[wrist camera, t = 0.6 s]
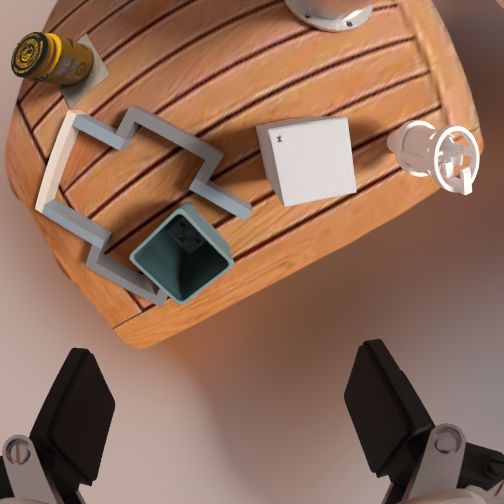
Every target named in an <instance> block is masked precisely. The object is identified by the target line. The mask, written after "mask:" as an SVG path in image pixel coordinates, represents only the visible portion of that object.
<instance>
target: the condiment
mask: <svg viewBox="0 0 504 504" xmlns="http://www.w3.org/2000/svg"><path fill="white" fill-rule="evenodd" d="M11 67H12V70H13V72H14V74H15V75H17V76H19V77H25V78H27V79H29V80H30V81H34V82H46V83H56V84H58V86H59V88H60V91H61V92H62V94H63V96H64V98H65V99H66V102H67V104H68V105H69V107H72V106H73V105H74V104H75V103H76V102H77V101H79V100H80V99H81V98H82V97H83V96H84V95H86V94H87V93H88V92H89V91H90V90H91V89H93V88H94V87H95V86H96V85H97V84H99V83H100V82H101V81H102V80H104V79H105V78H106V77H107V76H109V75H110V73H109V71H108V70H107V68H106V66H105V65H104V63H103V61H102V60H101V58H100V56H99V54H98V53H97V51H96V49H95V47H94V46H93V44H92V42H91V41H90V39H89V37H88V35H87V34H85V35H83V36H82V37H81V38H80V39H79V40H78V41H76V42H75V41H73V40H70V39H68V38H65V37H62V36H59V35H57V34H53V33H46V34H43V33H41V32H33V33H31V34H29V35H27V36H25V37H24V38H23V39H22V40H21V41H20V43H18V45H17V47H16V48H15V50H14V53H13V56H12V61H11ZM92 70H93V72H92ZM92 73H93V74H92ZM91 74H92V75H91ZM68 86H69V87H68Z"/></svg>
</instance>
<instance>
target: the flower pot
mask: <svg viewBox="0 0 504 504" xmlns="http://www.w3.org/2000/svg"><path fill="white" fill-rule="evenodd" d="M181 222H184V225H181ZM181 238H184V241H182V240H181ZM197 239H200V240H201V241H200V242H197ZM129 258H130V260H131V261H132V262H133V264H135V265H136V266H137V267H138V268H139V269H140V270H141V271H142V272H143V273H144V274H145V275H146V276H148V277H149V278H150V279H151V280H152V281H153V282H154V283H155V284H156V285H157V286H158V287H160V288H161V289H162V290H163V291H164V292H165V293H166V294H167V295H168V296H169V297H171V298H172V299H173V300H174V301H175V302H176V303H178V304H179V305H184V304H185V303H187V302H188V301H189V300H191V299H192V298H193V297H194V296H196V295H197V294H198V293H199V292H201V291H202V290H203V289H205V288H206V287H207V286H208V285H210V284H211V283H213V282H214V281H215V280H216V279H218V278H219V277H220V276H222V275H223V274H224V273H226V272H227V271H228V270H230V269H231V268H232V267H233V266H234V262H233V258H232V254H231V250H230V247H229V245H228V243H227V241H226V240H225V239H224V238H223V237H222V236H221V235H220V234H219V233H218V232H217V231H216V230H215V229H214V228H213V226H212V225H211V224H210V223H209V222H208V221H207V220H206V219H205V218H204V217H203V216H202V215H201V214H200V213H199V212H198V211H197V209H196V208H195V207H194V206H193V205H192V204H191V203H188V202H186V203H184V204H182V205H181V206H180V207H179V208H178V209H176V210H175V211H174V212H173V213H172V214H171V215H170V216H169V217H168V218H167V219H166V220H165V221H164V222H163V223H161V224H160V225H159V226H158V227H157V228H156V229H155V230H154V231H153V232H152V233H151V234H150V235H149V236H148V237H147V238H146V239H145V240H144V241H143V242H142V243H141V244H140V245H139V246H138V247H137V248H136V249H135V250H134V251H133V252H132V253H131V254H130V256H129Z"/></svg>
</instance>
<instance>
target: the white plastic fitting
mask: <svg viewBox="0 0 504 504" xmlns="http://www.w3.org/2000/svg"><path fill="white" fill-rule="evenodd" d="M415 125H422V126H423V127H418V126H415ZM453 131H458V132H460V133H461V134H462V135H463V136H464V137H465V139H466V141H467V143H468V145H465V144H461V143H457V142H453V140H452V138H454V136H453V135H452V134H451V132H453ZM387 147H388V149H389V150H390V151H391V152H393V153H395V156H396V159H397V162H398V163H399V165H400V166H401V168H402V169H403V170H405V171H406V172H408V173H410V174H412V175H415V176H419V177H423V176H427V175H431V176H433V177H434V179H435V182H436V183H437V184H438V185H439V186H440V187H442V188H444V189H446V190H448V191H451V192H460V193H462V194H464V195H467V194H469V193H471V192H472V186H471V184H472V182H473V181H474V179H475V177H476V174H477V171H478V167H479V150H478V146H477V143H476V141H475V139H474V137H473V135H472V134H471V133H470V132H469V131H468V130H467V129H465V128H463V127H460V126H454V125H447V126H444V127H442V128H440V129H439V130H438V129H435V128H434V127H433V126H432V125H430V124H429V123H427V122H424V121H417V120H412V121H409V122H406V123H405V124H404V125H402V126H401V128H400V129H399V130H398V132H393V133H391V134H390V135H389V136H388V138H387ZM463 154H464V155H468V156H470V165H469V167H468V166H465V167H463V168H460V176H461V179H458V178H456V177H454V169H453V167H456V166H458V165H460V166H461V165H462V161H463ZM445 161H447V162H445ZM442 165H443V171H444V172H443V171H441V170H440V167H441V166H442ZM408 166H409V167H410V168H413V169H415V170H418V171H413V170H411V169H410V168H409V167H408ZM442 178H445V182H444V180H443V179H442Z"/></svg>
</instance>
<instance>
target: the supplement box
mask: <svg viewBox="0 0 504 504" xmlns="http://www.w3.org/2000/svg"><path fill="white" fill-rule="evenodd" d="M256 131H257V136H258V140H259V145H260V150H261V155H262V159H263V164H264V168H265V173H266V177H267V180H268V181H269V183H270V184H271V186H272V188H273V189H274V191H275V193H276V194H277V196H278V197H279V199H280V201H281V202H282V204H283V206H284V207H288V206H293V205H298V204H303V203H307V202H312V201H317V200H322V199H326V198H331V197H336V196H341V195H346V194H350V193H355V192H356V185H355V176H354V168H353V159H352V150H351V142H350V134H349V127H348V120H347V118H345V117H313V116H308V117H300V118H293V119H286V120H281V121H276V122H271V123H267V124H262V125H257V126H256Z"/></svg>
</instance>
